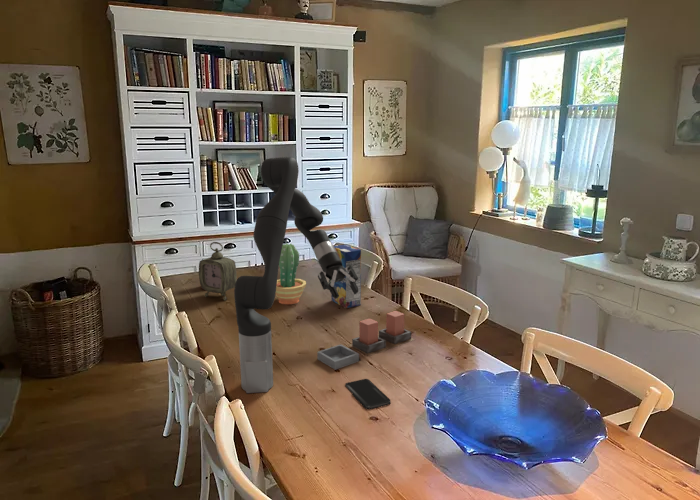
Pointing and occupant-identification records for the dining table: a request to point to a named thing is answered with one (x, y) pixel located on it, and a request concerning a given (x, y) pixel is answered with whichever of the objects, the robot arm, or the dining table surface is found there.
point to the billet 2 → (395, 323)
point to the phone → (367, 394)
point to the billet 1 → (368, 331)
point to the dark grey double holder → (382, 342)
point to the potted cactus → (289, 276)
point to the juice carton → (346, 295)
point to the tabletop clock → (217, 273)
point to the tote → (338, 356)
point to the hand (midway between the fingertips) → (347, 295)
